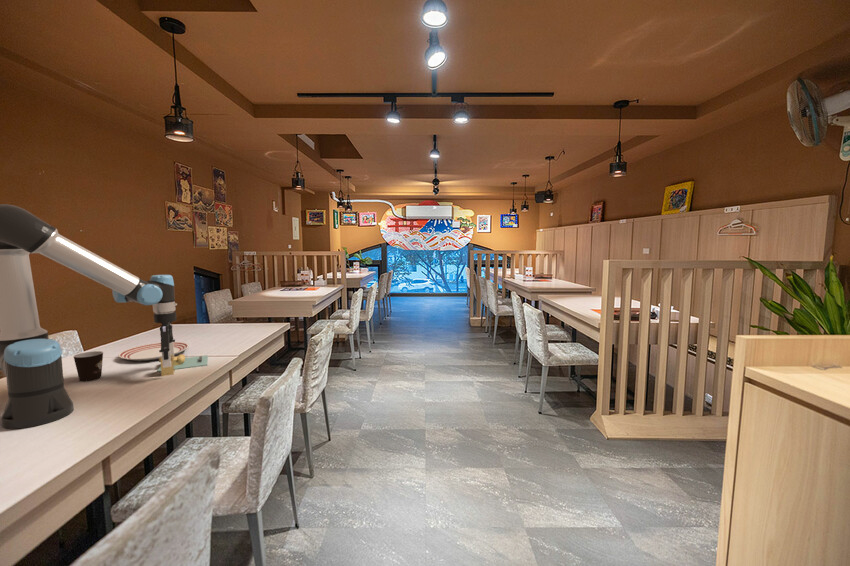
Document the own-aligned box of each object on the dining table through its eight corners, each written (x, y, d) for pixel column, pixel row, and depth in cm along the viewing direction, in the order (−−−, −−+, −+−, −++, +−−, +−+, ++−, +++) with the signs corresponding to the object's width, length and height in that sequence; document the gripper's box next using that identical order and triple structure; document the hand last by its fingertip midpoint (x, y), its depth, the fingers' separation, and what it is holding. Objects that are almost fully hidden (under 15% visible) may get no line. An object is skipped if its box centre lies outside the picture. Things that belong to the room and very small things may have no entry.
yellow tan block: (173, 374, 150) (172, 358, 149) (159, 376, 147) (158, 359, 147) (174, 370, 155) (173, 354, 154) (160, 372, 152) (160, 356, 152)
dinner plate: (153, 366, 161) (153, 359, 160) (102, 362, 165) (102, 355, 165) (202, 349, 188) (201, 343, 187) (157, 346, 192) (156, 340, 192)
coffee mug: (87, 383, 139) (85, 358, 138) (69, 381, 141) (67, 356, 140) (118, 373, 150) (116, 350, 149) (101, 371, 152) (99, 348, 151)
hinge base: (207, 365, 162) (206, 357, 161) (157, 371, 153) (157, 363, 152) (207, 356, 176) (207, 348, 175) (162, 361, 166) (161, 353, 166)
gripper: (173, 316, 140) (177, 369, 142) (178, 306, 162) (181, 353, 164) (149, 318, 136) (153, 372, 139) (157, 308, 158) (161, 355, 160)
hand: (168, 362), depth 151 cm, fingers open, 13 cm apart
